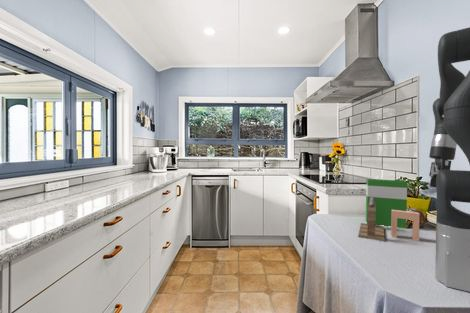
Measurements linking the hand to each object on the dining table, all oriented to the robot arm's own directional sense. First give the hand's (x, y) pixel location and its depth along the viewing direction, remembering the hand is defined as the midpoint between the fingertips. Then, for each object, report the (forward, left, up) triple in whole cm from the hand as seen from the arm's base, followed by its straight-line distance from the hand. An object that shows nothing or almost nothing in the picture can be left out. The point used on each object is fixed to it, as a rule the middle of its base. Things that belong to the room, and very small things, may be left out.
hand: (436, 187), depth 92 cm
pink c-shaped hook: (+11, +9, -25) cm, 29 cm away
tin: (+41, +2, -25) cm, 48 cm away
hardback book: (+31, +16, -25) cm, 43 cm away
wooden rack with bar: (+11, +22, -25) cm, 35 cm away
